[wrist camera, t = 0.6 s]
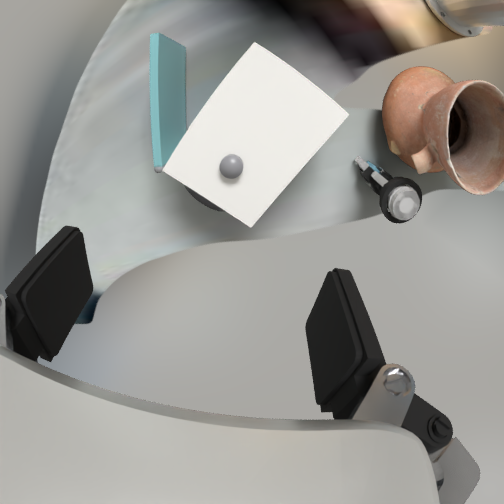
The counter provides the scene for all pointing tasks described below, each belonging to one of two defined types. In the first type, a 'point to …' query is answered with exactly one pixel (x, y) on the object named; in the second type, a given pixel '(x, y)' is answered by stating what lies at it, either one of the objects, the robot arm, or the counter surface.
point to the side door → (166, 97)
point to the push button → (392, 192)
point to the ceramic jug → (447, 127)
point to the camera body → (253, 136)
